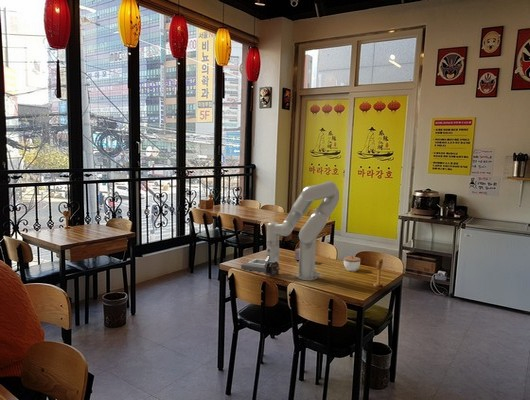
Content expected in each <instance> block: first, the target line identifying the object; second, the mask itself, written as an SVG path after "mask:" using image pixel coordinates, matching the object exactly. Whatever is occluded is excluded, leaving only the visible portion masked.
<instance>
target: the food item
mask: <svg viewBox="0 0 530 400" xmlns="http://www.w3.org/2000/svg"><path fill="white" fill-rule="evenodd" d="M299 249H300V247H297V248H296V249H295V250H294V260H295V261H296V260H299Z"/></svg>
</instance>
